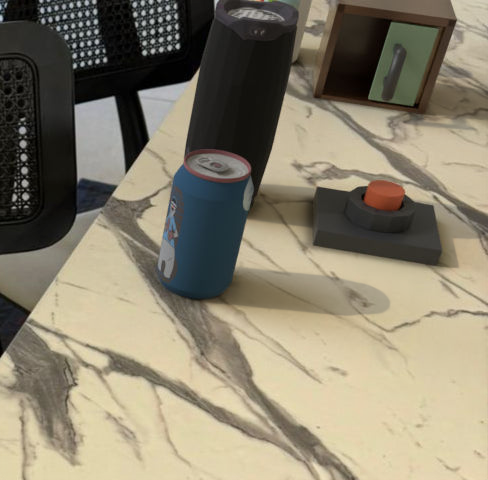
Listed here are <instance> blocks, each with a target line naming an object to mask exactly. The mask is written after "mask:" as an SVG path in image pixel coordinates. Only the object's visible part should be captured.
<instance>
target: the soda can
mask: <svg viewBox="0 0 488 480" xmlns="http://www.w3.org/2000/svg"><path fill="white" fill-rule="evenodd" d="M183 162H184V163H182V164H181V166H180V167H179V168H178V169H177V171H176V172H175V173H174V175H173V179H172V184H171V189H170V195H169V200H168V206H167V210H166V216H165V222H164V227H163V233H162V238H161V244H160V248H159V254H158V259H157V263H156V264H157V265H156V274H157V276H158V279H159V281H160V283H161V285H162V286H163V287H164V288H165V289H166V290H168V291H169V292H170V293H172V294H174V295H177V296H180V297H183V298H186V299H191V300H209V299H214V298H217V297H219V296H220V295H222V294H223V293H225V292H226V290H227V289H228V288H229V287H230V286H231V284H232V281H233V277H234V274H235V269H236V265H237V262H238V261H237V260H238V256H239V253H240V249H241V244H242V241H243V237H244V233H245V228H246V224H247V220H248V217H249V216H248V215H249V211H250V210H249V207H250V203H251V199H252V195H253V191H254V187H253V182H252V179H251V175H250V173H251V166H250V164H249V163H248V161H246V160H245V159H244V158H242V157H241V156H238V155H236V154H233V153H230V152H226V151H221V150H213V149H203V150H196V151H193V152H190V153H189V154H187V155H186V156H185V158H184V157H183Z"/></svg>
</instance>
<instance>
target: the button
mask: <svg viewBox="0 0 488 480" xmlns="http://www.w3.org/2000/svg"><path fill="white" fill-rule="evenodd" d="M367 186H368V187H367V190H366V193H365V197H364V200H363V201H364V202H365V203H366V204H367V205H369V206H372V207H374V208H377V209H380V210H386V211H396V210H399V209H400V206H401V203H402V201H403V198H404V195H405V194H406V190H405V188H404V187H403V186H402V185H400V184H398V183H396V182H393V181H390V180H384V179H376V180H372V181H369V183H368V184H367Z"/></svg>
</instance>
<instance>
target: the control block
mask: <svg viewBox="0 0 488 480" xmlns="http://www.w3.org/2000/svg"><path fill="white" fill-rule="evenodd" d="M367 187H368V185H360V186H356V187H355V188H353V189H352V190H350V191H349V190H342V189H337V188H330V187H329V188H328V187H323V186H316V188H315V192H314V195H313V200H312V246H314V247H319V248H325V249H331V250H337V251H343V252H350V253H353V254H354V253H355V254H360V255H367V256H373V257H379V258H384V259H391V260H396V261H402V262H408V263H415V264H421V265H426V266H431V267H437V266H438V263H439V260H440V258H441V256H442V253H443V248H442V242H441V237H440V232H439V227H438V222H437V217H436V211H435V206H434V204H428V203H424V202H423V203H422V202H416V201H414V200H413V199H412V198H411V197H410V196H408V195H407V194H406V193H405V195H404V198H403V201H402V203H401V206H400V209H399V210H396V211H386V210H380V209H377V208H374V207H372V206H369V205H367V204H366V203H365V202H364V201H363V200H364V197H365V193H366V190H367Z"/></svg>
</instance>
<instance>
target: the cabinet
mask: <svg viewBox="0 0 488 480" xmlns="http://www.w3.org/2000/svg"><path fill="white" fill-rule="evenodd" d="M391 21H395V22H402V23H409V24H416V25H423V26H430V27H437V28H439V31H438V34H437V37H436V40H435V43H434V46H433V49H432V52H431V55H430V58H429V61H428V64H427V67H426V70H425V73H424V76H423V79H422V82H421V85H420V88H419V91H418V93H417V96H416V99H415V102H414V105H413V106H409V105H403V104H396V103H389V102H383V101H376V100H369V99H368V97H369V93H370V90H371V87H372V83H373V80H374V77H375V74H376V70H377V67H378V64H379V60H380V57H381V54H382V51H383V47H384V44H385V41H386V37H387V34H388V31H389V27H390V24H391ZM457 22H458V18H457V15H456V12H455V9H454V6H453V3H452V0H331V1H330V4H329V9H328V13H327V16H326V20H325V24H324V28H323V32H322V35H321V40H320V43H319V47H318V50H317V54H316V58H315V61H314V66H313V69H312V98H313V99H318V100H325V101H326V100H327V101H332V102H337V103H338V102H339V103H345V104H352V105H359V106H364V107H371V108H377V109H385V110H390V111H391V110H392V111H397V112H405V113H411V114H418V115H424V116H425V115H426V112H427V109H428V106H429V104H430V100H431V97H432V94H433V92H434V89H435V86H436V84H437V80H438V77H439V74H440V71H441V69H442V65H443V63H444V59H445V57H446V53H447V51H448V48H449V45H450V42H451V39H452V37H453V33H454V31H455V28H456V26H457V25H456V24H457Z"/></svg>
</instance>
